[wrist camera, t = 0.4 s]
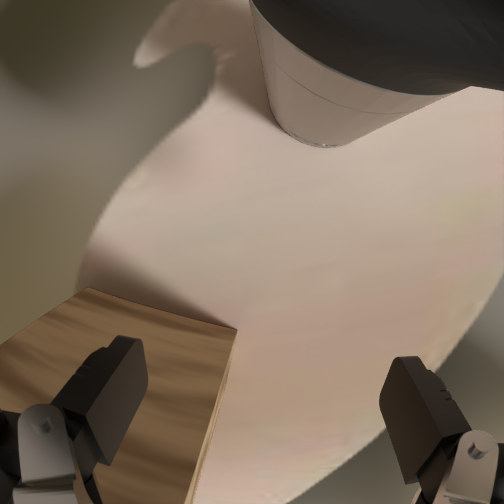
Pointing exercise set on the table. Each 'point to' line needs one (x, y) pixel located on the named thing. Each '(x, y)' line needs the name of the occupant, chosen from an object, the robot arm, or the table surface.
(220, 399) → the oak block
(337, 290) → the table surface
